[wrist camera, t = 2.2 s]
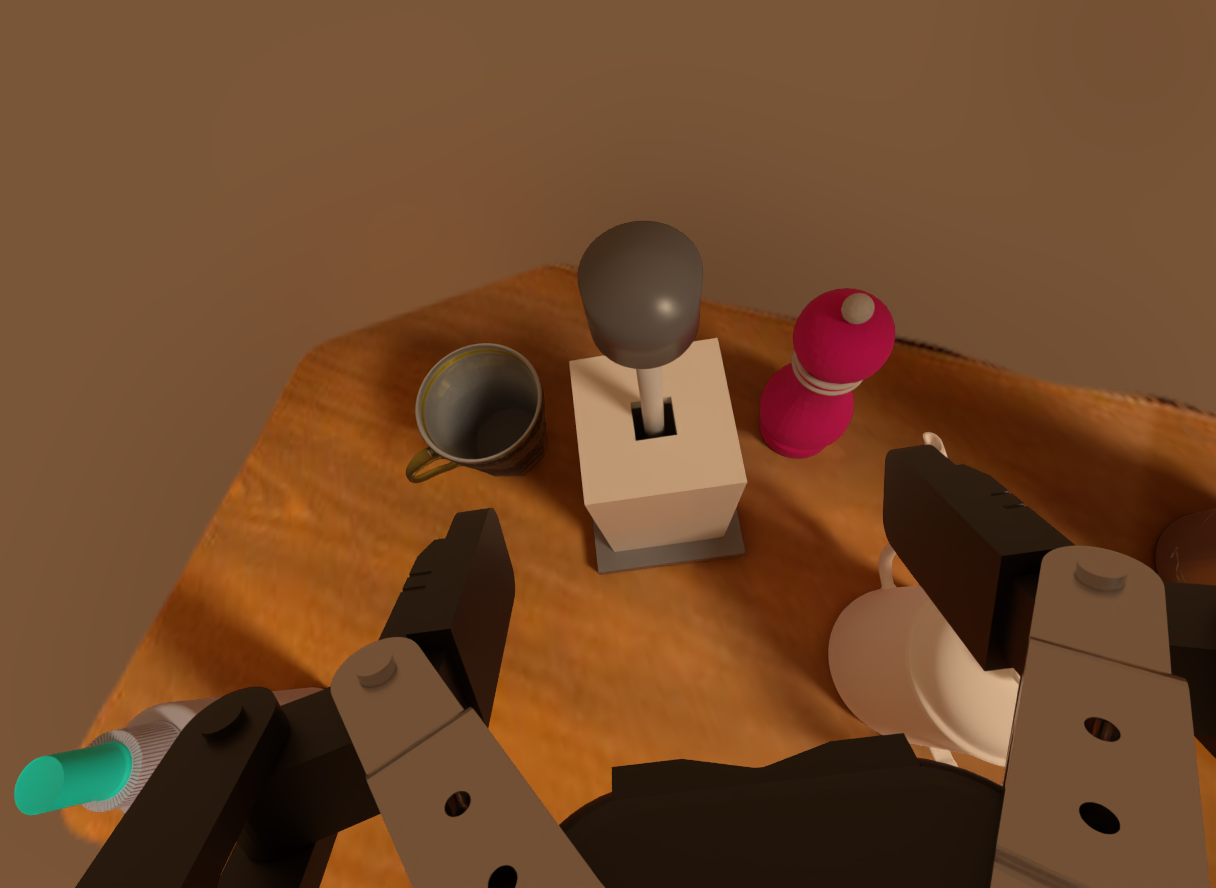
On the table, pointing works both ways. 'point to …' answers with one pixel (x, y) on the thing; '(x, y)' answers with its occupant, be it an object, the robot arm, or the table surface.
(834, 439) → the pepper mill
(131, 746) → the spray bottle
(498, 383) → the ceramic cup
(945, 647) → the coffeepot
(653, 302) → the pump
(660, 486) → the dispenser
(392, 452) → the table surface
